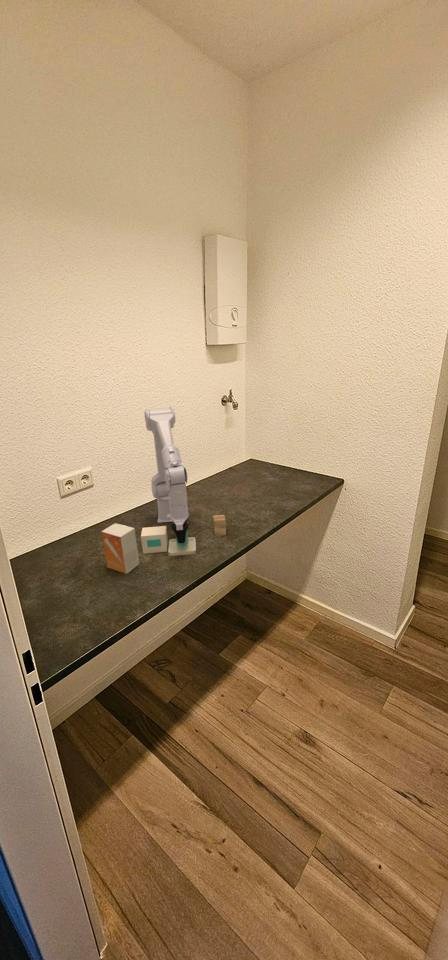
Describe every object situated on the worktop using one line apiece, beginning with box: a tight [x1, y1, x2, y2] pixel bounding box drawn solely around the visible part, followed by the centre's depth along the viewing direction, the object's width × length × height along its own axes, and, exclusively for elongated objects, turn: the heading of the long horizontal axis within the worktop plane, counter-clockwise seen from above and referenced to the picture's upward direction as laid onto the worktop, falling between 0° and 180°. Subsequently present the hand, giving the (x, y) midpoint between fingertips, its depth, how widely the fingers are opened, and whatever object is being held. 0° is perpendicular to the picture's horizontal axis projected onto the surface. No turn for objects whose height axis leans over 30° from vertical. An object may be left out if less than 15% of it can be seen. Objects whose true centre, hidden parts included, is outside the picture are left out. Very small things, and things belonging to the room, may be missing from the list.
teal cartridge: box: [175, 531, 189, 546], centre depth 131 cm, size 4×4×6 cm
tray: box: [167, 536, 197, 557], centre depth 133 cm, size 9×9×1 cm
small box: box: [100, 522, 140, 575], centre depth 122 cm, size 8×6×13 cm
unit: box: [140, 525, 169, 554], centre depth 133 cm, size 7×8×6 cm
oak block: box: [212, 514, 227, 537], centre depth 141 cm, size 4×4×6 cm
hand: (181, 539), depth 132 cm, fingers closed on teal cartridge, 4 cm apart
